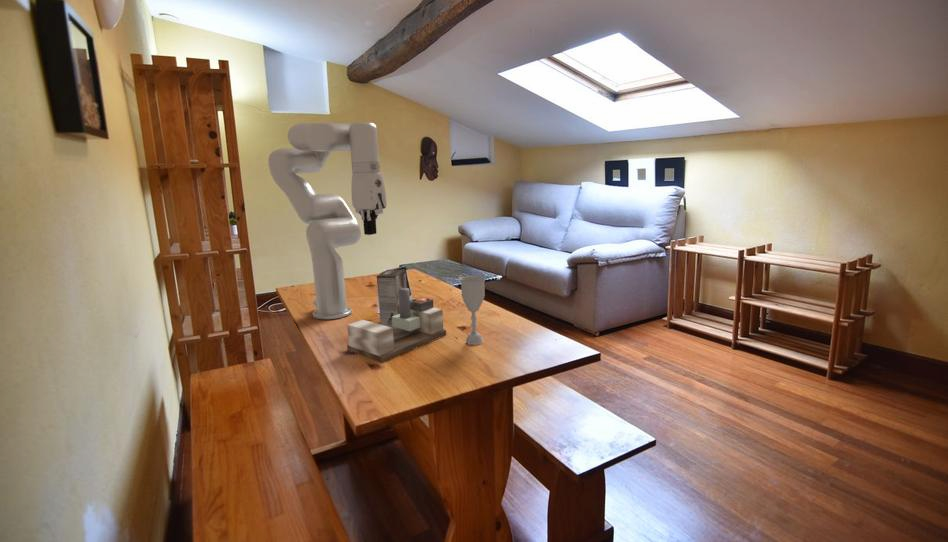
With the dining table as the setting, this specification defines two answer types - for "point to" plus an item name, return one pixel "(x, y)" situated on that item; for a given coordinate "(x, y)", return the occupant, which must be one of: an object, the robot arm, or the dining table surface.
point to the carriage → (405, 313)
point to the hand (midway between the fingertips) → (370, 234)
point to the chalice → (473, 302)
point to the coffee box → (390, 294)
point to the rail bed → (396, 333)
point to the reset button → (420, 300)
